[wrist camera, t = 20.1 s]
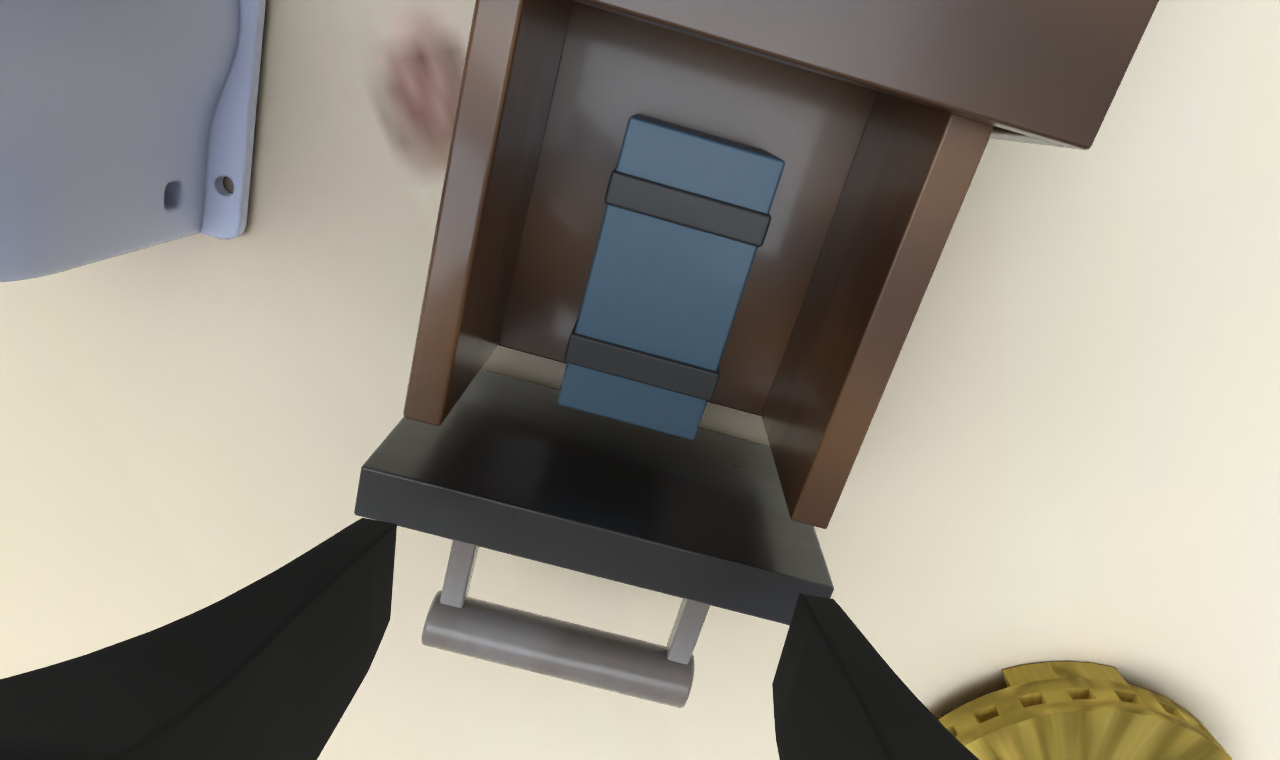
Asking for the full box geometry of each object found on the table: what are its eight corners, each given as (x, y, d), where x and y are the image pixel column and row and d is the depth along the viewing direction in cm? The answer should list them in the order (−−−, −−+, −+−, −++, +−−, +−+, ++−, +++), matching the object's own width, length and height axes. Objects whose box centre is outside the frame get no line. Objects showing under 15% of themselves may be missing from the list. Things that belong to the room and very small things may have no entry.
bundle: (633, 112, 18) (625, 114, 15) (770, 151, 18) (791, 162, 15) (571, 358, 20) (552, 406, 17) (693, 391, 21) (696, 445, 17)
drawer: (727, 615, 24) (745, 794, 18) (416, 536, 24) (324, 692, 18) (941, 50, 18) (1080, 25, 12) (534, -72, 18) (460, -165, 12)
